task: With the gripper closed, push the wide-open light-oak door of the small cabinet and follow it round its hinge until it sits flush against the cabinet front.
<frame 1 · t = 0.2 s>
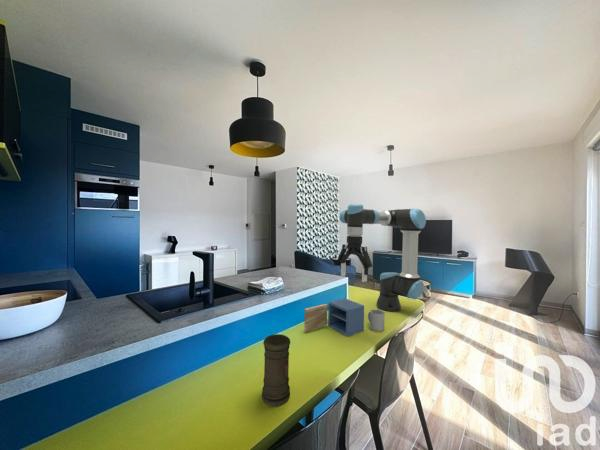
hand: (353, 278, 120), 28 cm above the countertop, fingers open, 13 cm apart
cup: (374, 327, 129), on the countertop
door: (316, 317, 125), point 7 cm above the countertop, hinge at 90.0°
cabinet: (345, 328, 127), on the countertop
container: (275, 396, 77), on the countertop
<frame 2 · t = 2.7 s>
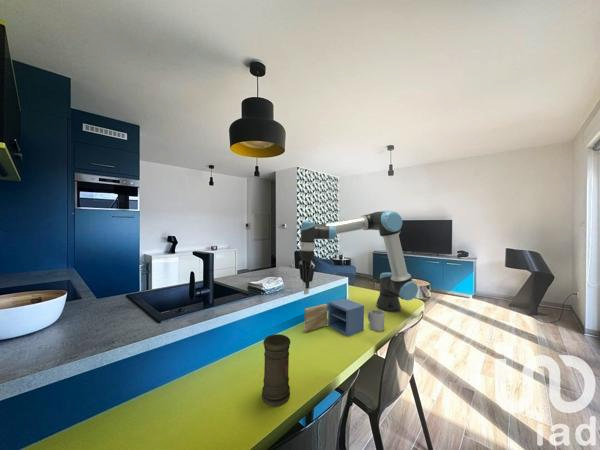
hand: (305, 293, 130), 17 cm above the countertop, fingers closed
nothing on the countertop moved.
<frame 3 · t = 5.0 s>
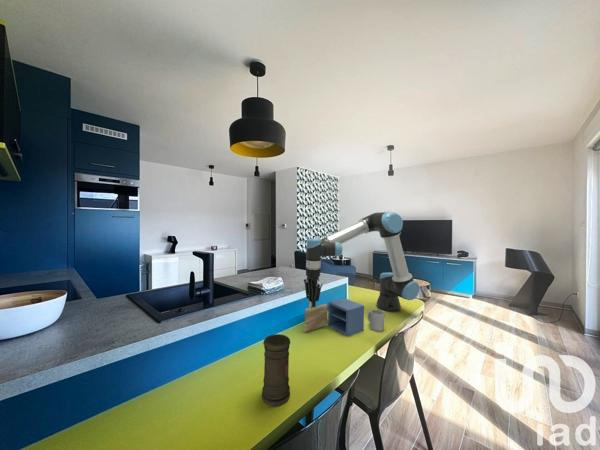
hand: (311, 313, 126), 8 cm above the countertop, fingers closed
door: (316, 317, 125), point 7 cm above the countertop, hinge at 88.8°, touching gripper
everything else where it was.
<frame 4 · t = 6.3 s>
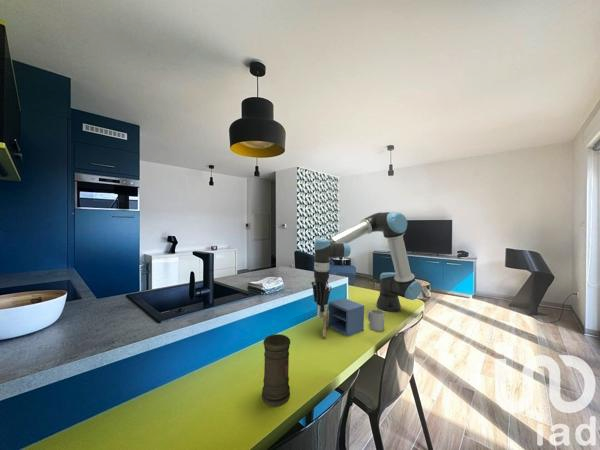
hand: (320, 317, 121), 8 cm above the countertop, fingers closed
door: (325, 319, 122), point 7 cm above the countertop, hinge at 46.5°, touching gripper
everything else where it was.
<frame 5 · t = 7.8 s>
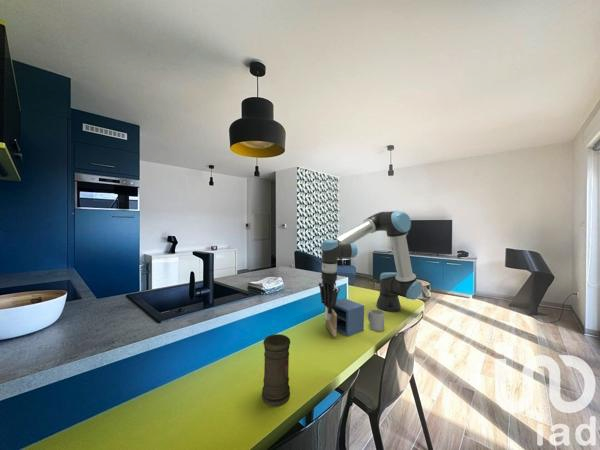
hand: (327, 319, 119), 8 cm above the countertop, fingers closed
door: (330, 319, 122), point 7 cm above the countertop, hinge at 25.5°, touching gripper
everything else where it was.
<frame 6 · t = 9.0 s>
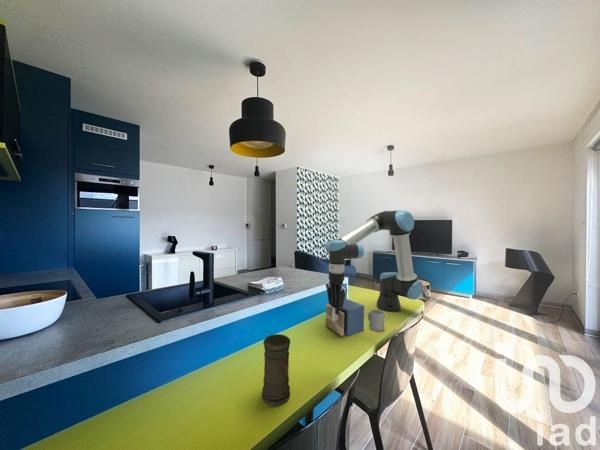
hand: (335, 320, 118), 8 cm above the countertop, fingers closed
door: (334, 319, 123), point 6 cm above the countertop, hinge at 9.0°, touching gripper
everything else where it was.
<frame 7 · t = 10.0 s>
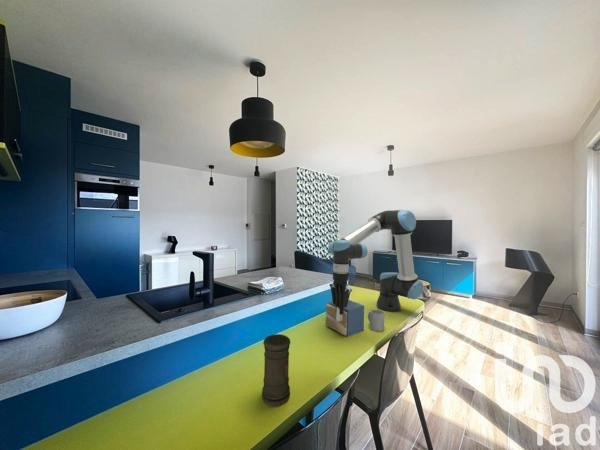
hand: (339, 320, 118), 8 cm above the countertop, fingers closed
door: (335, 318, 123), point 7 cm above the countertop, hinge at 1.3°, touching gripper
everything else where it was.
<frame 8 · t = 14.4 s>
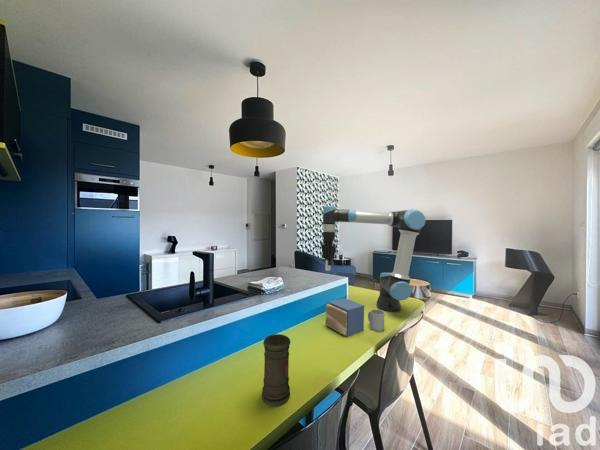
hand: (327, 270, 146), 26 cm above the countertop, fingers closed
door: (335, 318, 123), point 6 cm above the countertop, hinge at 1.3°
everything else where it was.
at the end: door at +1° (first picture: +90°) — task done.
